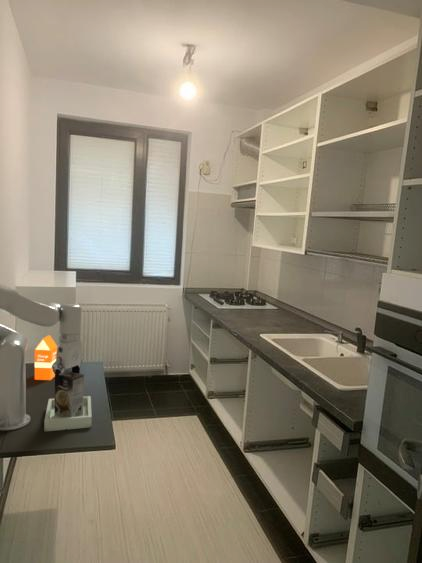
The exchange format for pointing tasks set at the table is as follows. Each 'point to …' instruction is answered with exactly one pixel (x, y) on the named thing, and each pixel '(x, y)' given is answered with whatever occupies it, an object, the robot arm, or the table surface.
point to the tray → (61, 423)
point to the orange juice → (45, 359)
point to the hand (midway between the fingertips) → (67, 381)
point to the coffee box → (69, 395)
